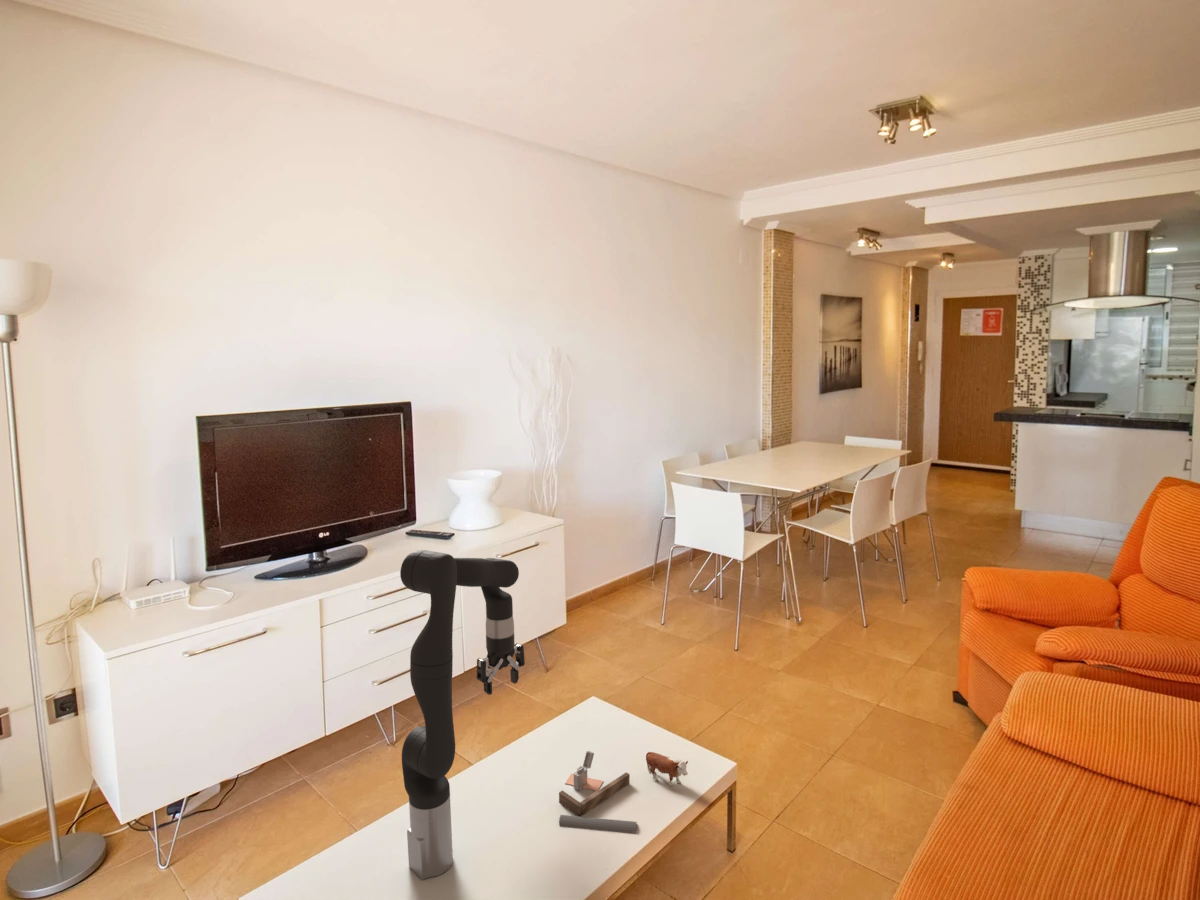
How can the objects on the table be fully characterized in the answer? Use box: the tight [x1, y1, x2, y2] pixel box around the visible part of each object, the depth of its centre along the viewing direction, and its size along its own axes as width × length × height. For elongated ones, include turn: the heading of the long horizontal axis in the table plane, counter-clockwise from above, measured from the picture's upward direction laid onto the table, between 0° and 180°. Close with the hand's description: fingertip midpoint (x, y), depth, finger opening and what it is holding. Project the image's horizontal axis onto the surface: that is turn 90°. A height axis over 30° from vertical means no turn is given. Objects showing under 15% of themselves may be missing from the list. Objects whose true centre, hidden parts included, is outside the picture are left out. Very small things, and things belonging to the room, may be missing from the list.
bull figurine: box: [645, 751, 689, 787], centre depth 191 cm, size 4×13×8 cm, turn 53°
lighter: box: [573, 750, 595, 791], centre depth 190 cm, size 7×2×8 cm, turn 142°
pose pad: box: [565, 773, 604, 792], centre depth 191 cm, size 4×10×1 cm, turn 70°
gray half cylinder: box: [558, 814, 637, 835], centre depth 175 cm, size 4×20×2 cm, turn 82°
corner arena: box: [558, 772, 630, 817], centre depth 186 cm, size 19×8×3 cm, turn 135°
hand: (501, 687), depth 187 cm, fingers open, 8 cm apart
